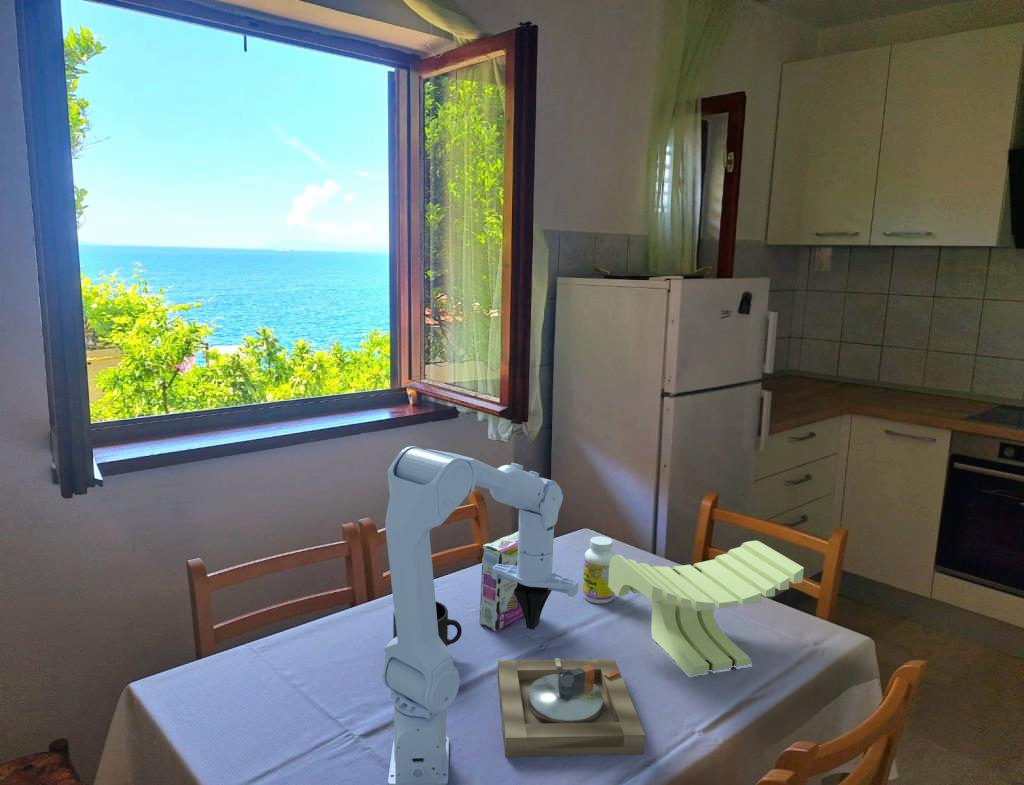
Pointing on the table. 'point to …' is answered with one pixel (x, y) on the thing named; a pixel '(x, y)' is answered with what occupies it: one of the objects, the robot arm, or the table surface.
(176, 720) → the table surface
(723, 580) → the slatted curved stool
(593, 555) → the supplement bottle
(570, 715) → the dial
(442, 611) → the mug
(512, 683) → the board
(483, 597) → the candy bar box
